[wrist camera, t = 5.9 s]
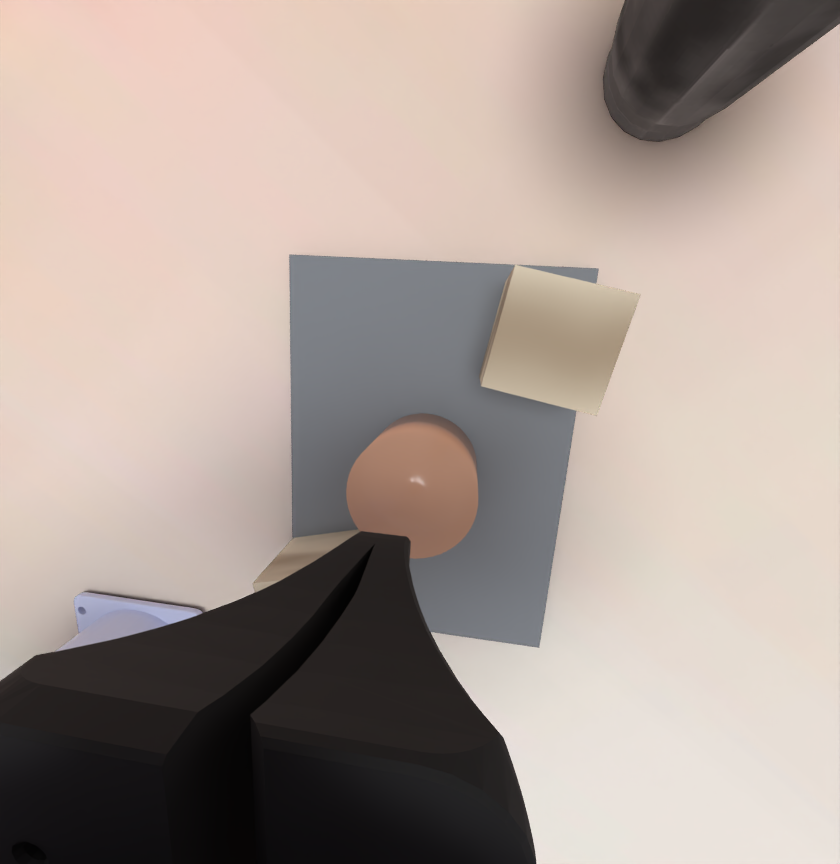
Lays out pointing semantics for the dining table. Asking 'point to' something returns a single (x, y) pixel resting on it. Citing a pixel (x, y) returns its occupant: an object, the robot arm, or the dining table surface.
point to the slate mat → (430, 394)
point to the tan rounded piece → (416, 484)
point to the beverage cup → (701, 57)
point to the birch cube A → (300, 556)
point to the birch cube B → (556, 339)
